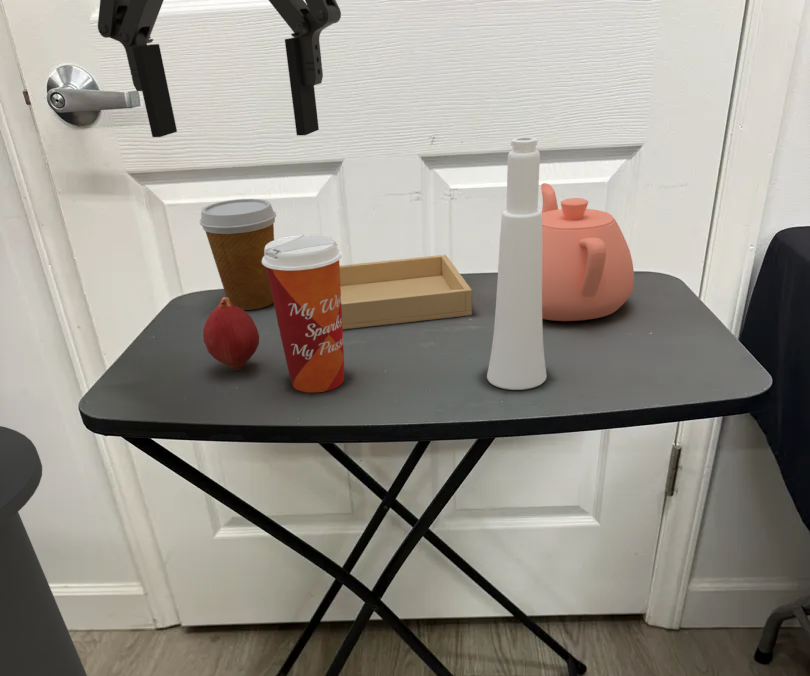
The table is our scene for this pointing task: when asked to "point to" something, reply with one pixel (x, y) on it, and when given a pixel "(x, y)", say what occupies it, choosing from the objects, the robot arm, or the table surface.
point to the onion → (230, 335)
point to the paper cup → (308, 308)
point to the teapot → (582, 261)
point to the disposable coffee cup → (241, 248)
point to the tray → (402, 292)
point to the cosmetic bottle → (519, 277)
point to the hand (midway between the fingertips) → (234, 134)
